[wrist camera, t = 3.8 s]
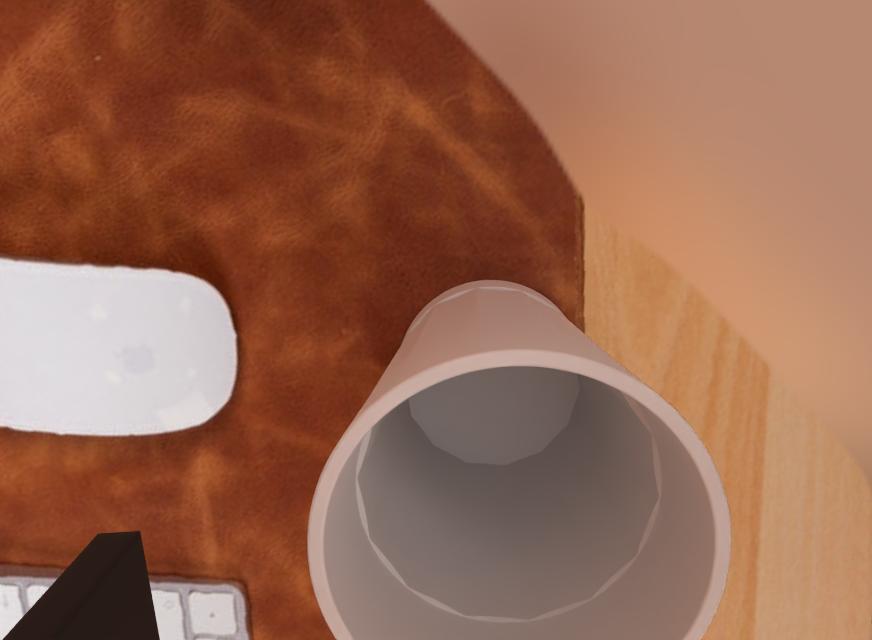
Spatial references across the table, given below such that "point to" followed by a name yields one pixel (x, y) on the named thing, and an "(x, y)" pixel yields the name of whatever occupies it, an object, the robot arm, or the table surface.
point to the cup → (516, 490)
